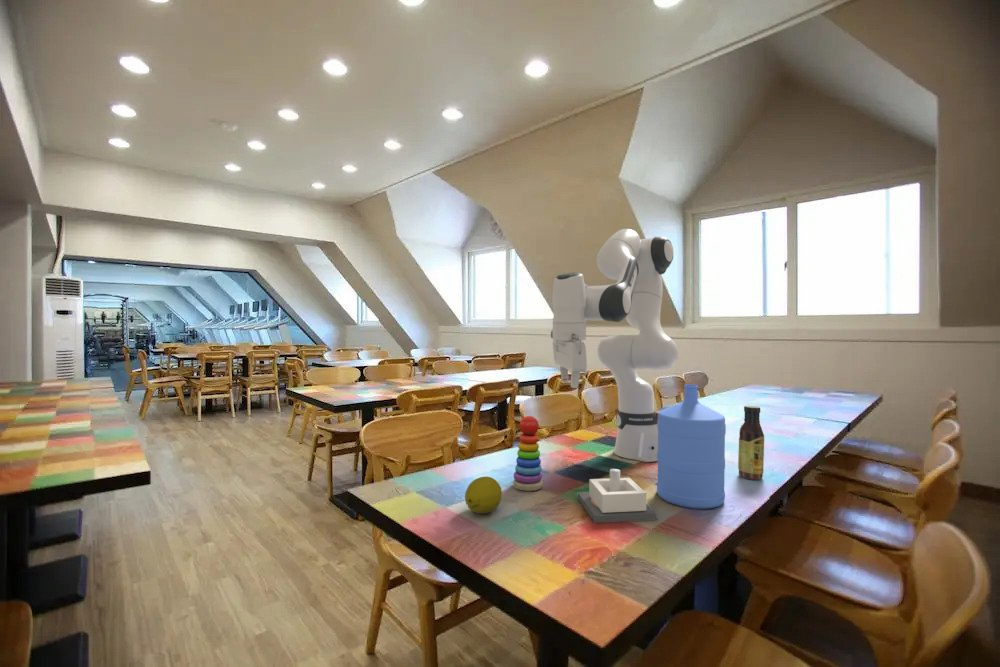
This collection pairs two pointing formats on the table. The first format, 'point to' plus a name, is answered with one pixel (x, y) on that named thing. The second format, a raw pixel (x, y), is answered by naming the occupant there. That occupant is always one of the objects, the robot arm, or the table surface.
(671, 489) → the water jug
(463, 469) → the table surface
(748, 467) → the sauce bottle
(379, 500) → the table surface
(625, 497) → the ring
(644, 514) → the rod stand
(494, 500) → the lemon
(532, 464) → the stacking toy
